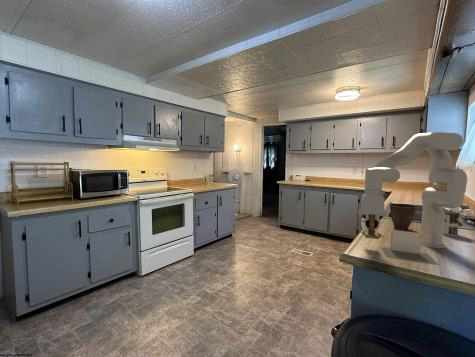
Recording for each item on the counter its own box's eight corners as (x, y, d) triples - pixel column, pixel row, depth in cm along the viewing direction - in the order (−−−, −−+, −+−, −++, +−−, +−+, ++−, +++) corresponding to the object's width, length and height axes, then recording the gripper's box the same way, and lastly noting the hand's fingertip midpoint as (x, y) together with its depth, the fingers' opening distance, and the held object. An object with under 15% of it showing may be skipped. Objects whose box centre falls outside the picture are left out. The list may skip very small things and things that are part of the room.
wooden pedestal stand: (363, 234, 125) (364, 208, 124) (376, 235, 123) (377, 209, 122) (365, 237, 120) (366, 210, 119) (379, 239, 118) (380, 211, 116)
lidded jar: (371, 235, 145) (372, 220, 144) (356, 230, 154) (357, 216, 154) (383, 233, 149) (384, 218, 148) (368, 228, 159) (368, 214, 158)
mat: (380, 247, 123) (380, 247, 123) (427, 254, 116) (427, 253, 116) (386, 258, 110) (386, 257, 110) (439, 265, 103) (439, 265, 103)
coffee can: (456, 233, 152) (458, 211, 151) (458, 237, 144) (460, 214, 143) (435, 230, 159) (437, 209, 157) (436, 233, 150) (438, 211, 149)
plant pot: (382, 226, 164) (384, 204, 163) (396, 224, 170) (397, 202, 169) (405, 232, 151) (407, 208, 149) (419, 230, 157) (421, 206, 156)
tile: (390, 249, 121) (391, 230, 120) (418, 253, 116) (420, 233, 116) (390, 250, 119) (392, 231, 118) (419, 254, 115) (421, 234, 114)
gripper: (390, 192, 120) (388, 227, 122) (354, 190, 126) (353, 224, 128) (393, 194, 113) (391, 231, 115) (355, 192, 119) (354, 228, 121)
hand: (371, 227), depth 121 cm, fingers closed on wooden pedestal stand, 3 cm apart
